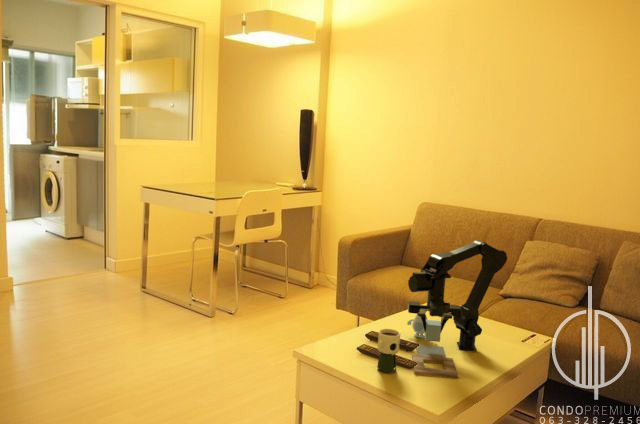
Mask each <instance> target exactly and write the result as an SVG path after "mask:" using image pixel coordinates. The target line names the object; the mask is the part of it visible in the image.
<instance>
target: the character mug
mask: <svg viewBox="0 0 640 424" xmlns="http://www.w3.org/2000/svg"><path fill="white" fill-rule="evenodd" d="M400 342H401V332H400V331H399V330H397V329H393V328H382V329H379V330H378V339H377V351H379V352H380V353H379V356H378V361H377V366H376V367H377V369H378V370H380V371H382V372H384V373H394V372H395V371H397V355H396V354H398V353H399V352H400Z"/></svg>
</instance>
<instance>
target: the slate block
mask: <svg viewBox="0 0 640 424" xmlns="http://www.w3.org/2000/svg"><path fill="white" fill-rule="evenodd" d="M441 333H442V332H441V320H432V319H431V320H430V319H427V320H426V332H425V333H424V334H423V335H424V336H425V337H424V340H425V341H426V342H434V343H436V342H437V343H440V342H441Z"/></svg>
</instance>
